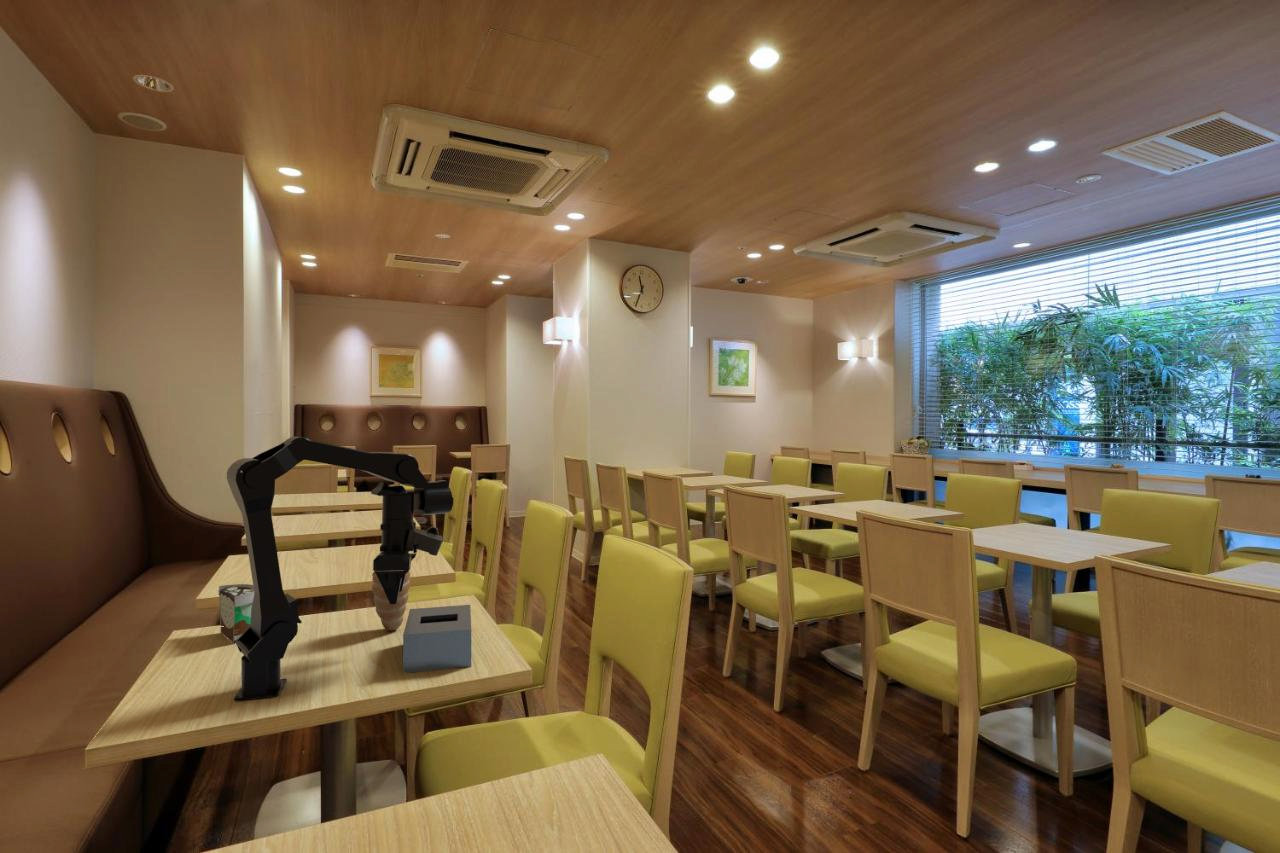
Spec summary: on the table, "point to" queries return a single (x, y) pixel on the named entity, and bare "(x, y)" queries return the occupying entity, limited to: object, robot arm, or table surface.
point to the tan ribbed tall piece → (385, 610)
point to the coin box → (437, 638)
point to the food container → (235, 609)
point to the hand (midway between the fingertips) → (396, 597)
